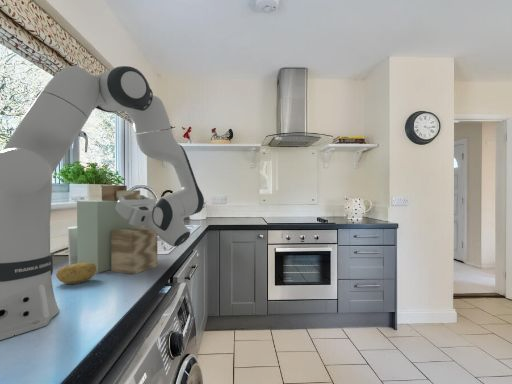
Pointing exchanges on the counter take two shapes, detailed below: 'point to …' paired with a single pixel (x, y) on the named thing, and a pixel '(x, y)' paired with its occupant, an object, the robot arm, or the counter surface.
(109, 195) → the walnut handle block
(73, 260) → the skincare box
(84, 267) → the potato
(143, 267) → the low oak block
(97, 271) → the large sage green box
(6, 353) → the counter surface
